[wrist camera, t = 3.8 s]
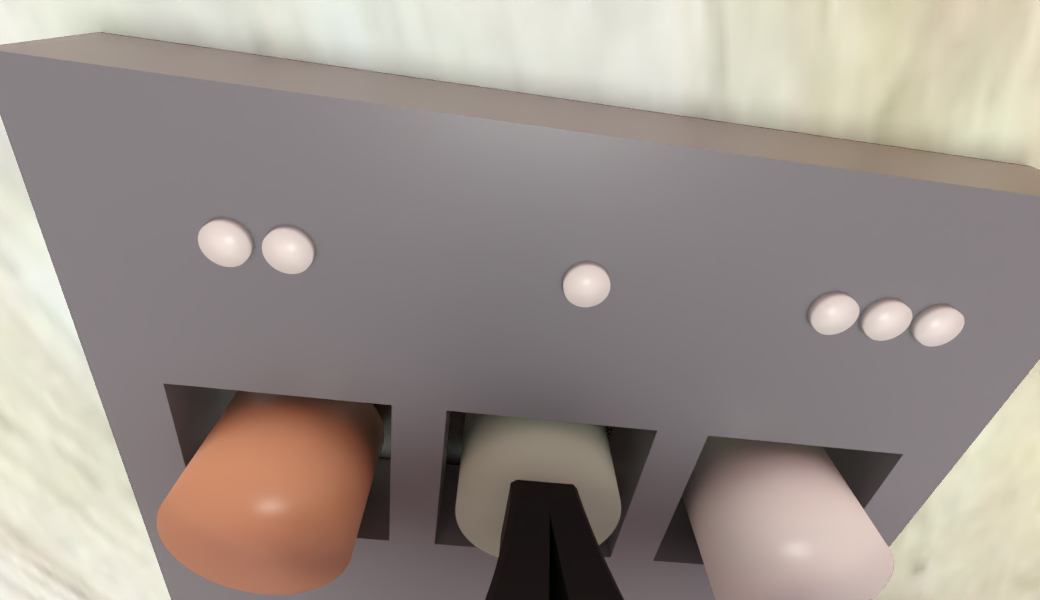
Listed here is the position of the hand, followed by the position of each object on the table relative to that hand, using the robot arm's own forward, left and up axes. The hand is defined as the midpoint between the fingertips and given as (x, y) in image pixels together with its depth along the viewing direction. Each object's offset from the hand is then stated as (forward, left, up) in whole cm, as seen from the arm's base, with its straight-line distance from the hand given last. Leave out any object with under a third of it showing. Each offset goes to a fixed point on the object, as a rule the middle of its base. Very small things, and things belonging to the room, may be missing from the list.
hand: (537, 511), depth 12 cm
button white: (-6, 0, -2) cm, 6 cm away
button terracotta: (+5, 0, -2) cm, 6 cm away
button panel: (0, 0, -3) cm, 3 cm away
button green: (0, 0, -3) cm, 3 cm away
